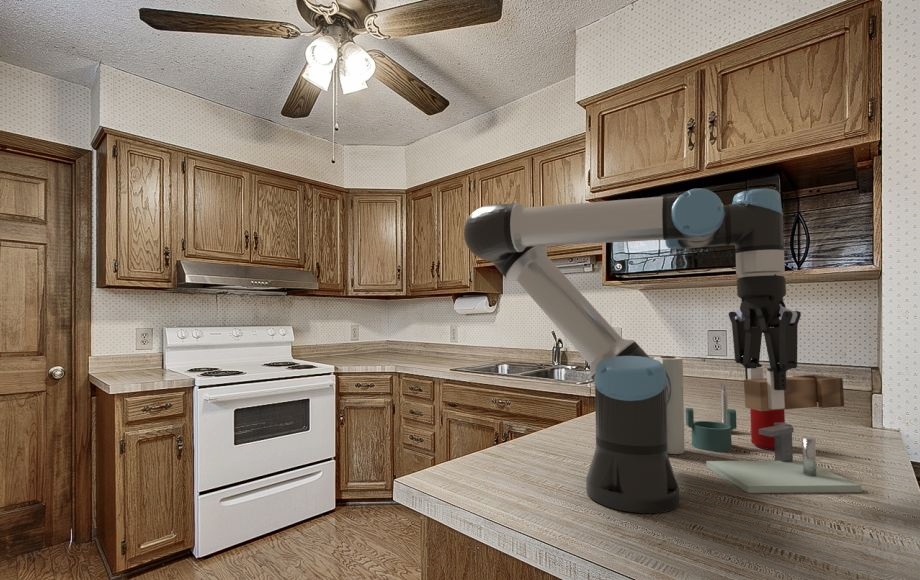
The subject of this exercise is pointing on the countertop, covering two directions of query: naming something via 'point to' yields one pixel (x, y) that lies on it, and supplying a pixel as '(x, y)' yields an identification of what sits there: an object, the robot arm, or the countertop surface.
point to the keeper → (781, 440)
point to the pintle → (809, 456)
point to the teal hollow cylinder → (712, 432)
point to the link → (797, 392)
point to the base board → (780, 477)
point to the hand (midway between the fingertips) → (766, 405)
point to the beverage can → (764, 426)
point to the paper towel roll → (674, 404)
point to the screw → (723, 403)
